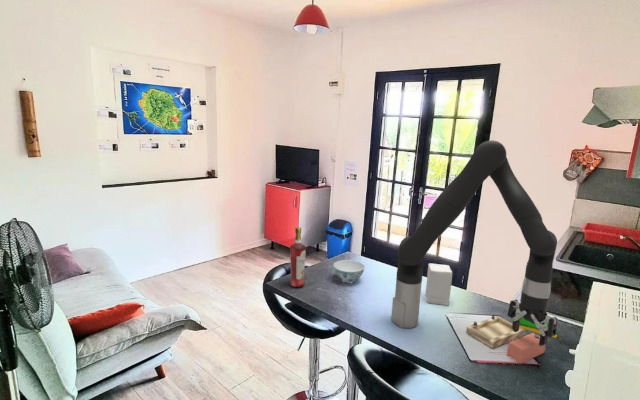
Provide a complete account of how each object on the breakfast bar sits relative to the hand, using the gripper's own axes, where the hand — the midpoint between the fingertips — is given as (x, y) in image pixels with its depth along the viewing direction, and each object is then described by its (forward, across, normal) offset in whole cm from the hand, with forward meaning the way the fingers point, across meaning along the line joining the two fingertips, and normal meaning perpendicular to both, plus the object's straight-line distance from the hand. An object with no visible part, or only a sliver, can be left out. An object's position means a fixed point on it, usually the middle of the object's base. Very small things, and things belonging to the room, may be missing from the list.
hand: (528, 337), depth 111 cm
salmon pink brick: (+6, 0, 0) cm, 6 cm away
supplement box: (+6, -40, +2) cm, 41 cm away
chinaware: (+6, -74, -23) cm, 77 cm away
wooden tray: (+6, -12, +1) cm, 13 cm away
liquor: (+6, -79, -48) cm, 92 cm away
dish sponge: (+7, -8, +19) cm, 22 cm away
